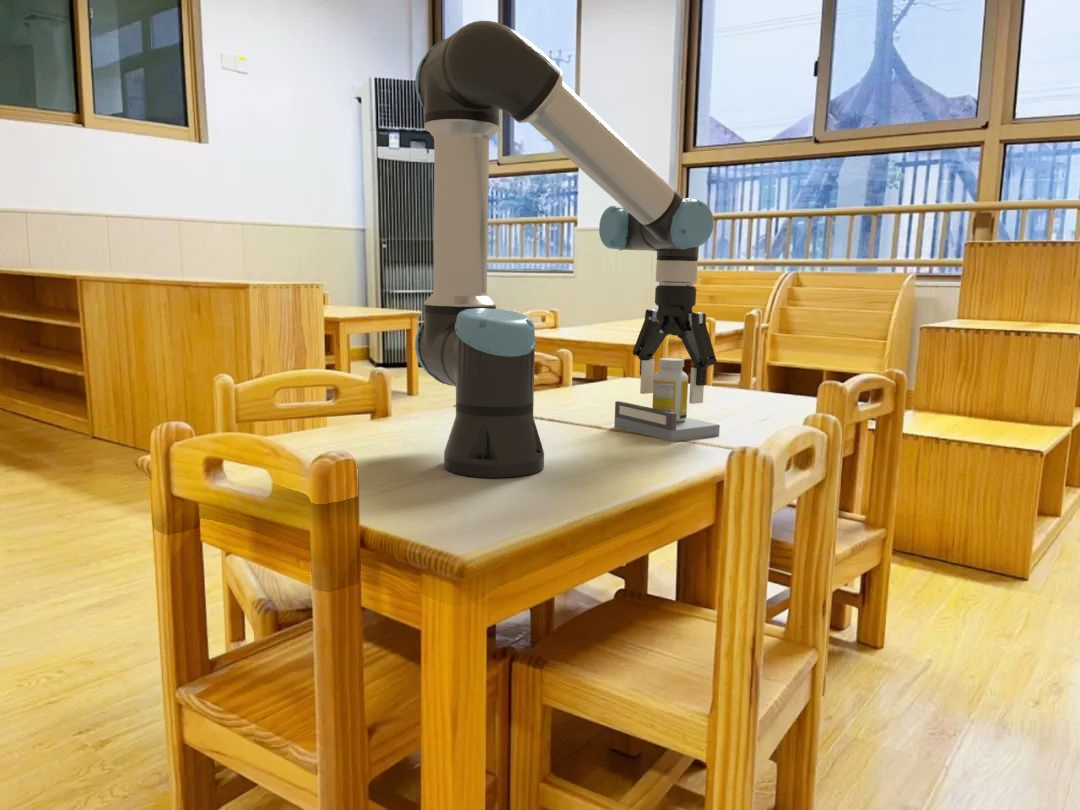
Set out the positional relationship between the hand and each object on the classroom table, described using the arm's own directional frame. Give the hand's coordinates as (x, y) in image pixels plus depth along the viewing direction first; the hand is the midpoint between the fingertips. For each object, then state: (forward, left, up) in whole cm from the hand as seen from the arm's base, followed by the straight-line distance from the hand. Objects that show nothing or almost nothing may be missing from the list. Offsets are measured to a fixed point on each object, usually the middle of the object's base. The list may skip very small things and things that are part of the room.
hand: (670, 398), depth 153 cm
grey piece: (-1, 0, -6) cm, 6 cm away
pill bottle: (0, 0, -4) cm, 4 cm away
